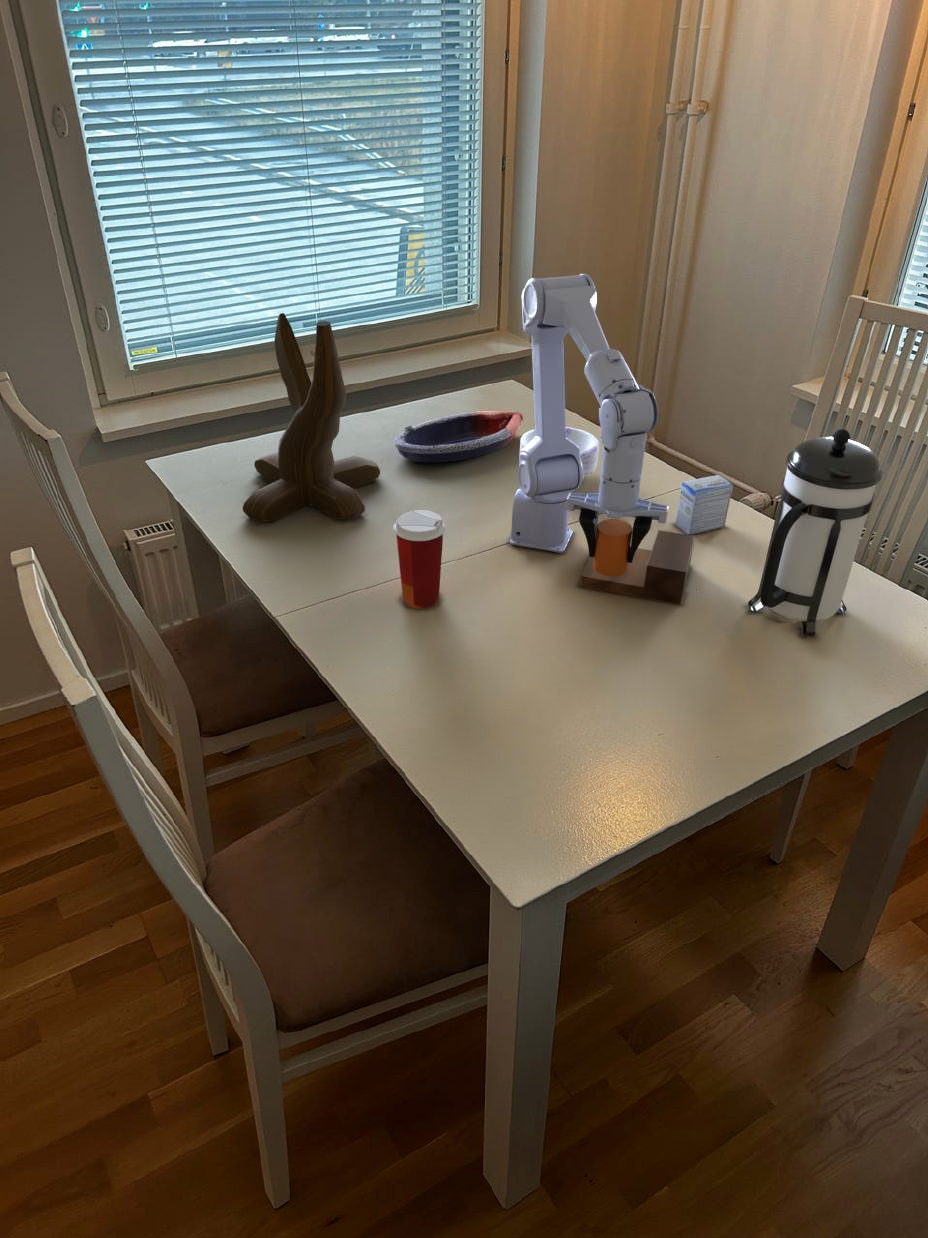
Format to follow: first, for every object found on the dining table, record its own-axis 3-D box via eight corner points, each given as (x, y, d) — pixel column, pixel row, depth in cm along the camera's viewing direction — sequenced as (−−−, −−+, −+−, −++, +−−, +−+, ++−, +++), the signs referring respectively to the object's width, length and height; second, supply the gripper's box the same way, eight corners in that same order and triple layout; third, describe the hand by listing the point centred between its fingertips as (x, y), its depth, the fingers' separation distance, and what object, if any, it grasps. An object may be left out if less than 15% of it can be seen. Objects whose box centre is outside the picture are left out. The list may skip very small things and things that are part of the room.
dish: (379, 449, 191) (378, 426, 188) (503, 421, 204) (504, 399, 201) (415, 477, 180) (414, 453, 177) (543, 446, 193) (545, 423, 190)
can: (590, 573, 138) (594, 532, 134) (595, 556, 142) (599, 516, 138) (624, 578, 137) (630, 537, 133) (629, 561, 141) (634, 521, 137)
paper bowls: (565, 455, 189) (568, 418, 185) (611, 483, 179) (615, 445, 174) (503, 470, 183) (505, 433, 178) (547, 501, 172) (550, 462, 168)
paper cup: (452, 591, 146) (452, 513, 138) (435, 616, 140) (434, 536, 132) (406, 582, 148) (404, 504, 140) (387, 607, 142) (384, 527, 134)
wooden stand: (414, 503, 171) (410, 312, 151) (271, 545, 157) (246, 342, 137) (341, 449, 190) (329, 274, 171) (208, 482, 177) (178, 297, 157)
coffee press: (733, 581, 149) (770, 405, 132) (834, 588, 148) (884, 411, 131) (749, 644, 135) (793, 456, 118) (861, 651, 134) (921, 462, 117)
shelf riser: (580, 586, 148) (583, 554, 144) (595, 551, 157) (598, 520, 154) (680, 604, 144) (686, 572, 140) (689, 567, 153) (695, 535, 150)
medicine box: (710, 517, 168) (718, 473, 163) (725, 528, 164) (734, 484, 160) (674, 524, 165) (681, 481, 160) (688, 536, 162) (696, 491, 157)
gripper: (565, 479, 129) (558, 562, 137) (670, 493, 126) (656, 577, 134) (574, 459, 134) (566, 540, 142) (674, 471, 131) (661, 553, 139)
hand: (610, 556), depth 138 cm, fingers closed on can, 5 cm apart
